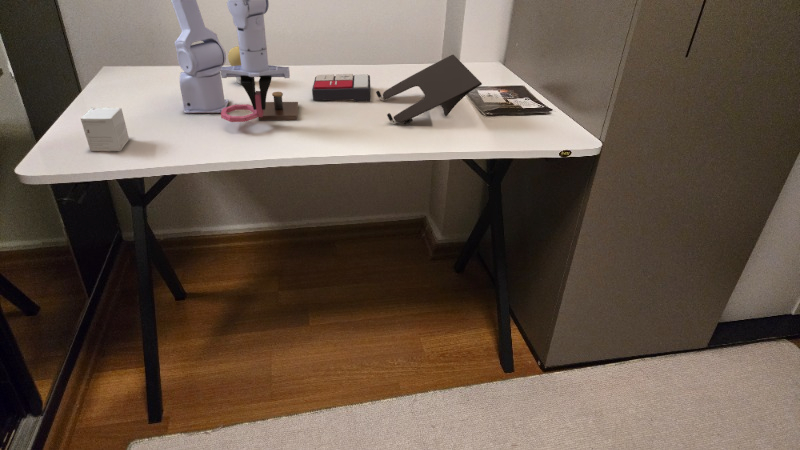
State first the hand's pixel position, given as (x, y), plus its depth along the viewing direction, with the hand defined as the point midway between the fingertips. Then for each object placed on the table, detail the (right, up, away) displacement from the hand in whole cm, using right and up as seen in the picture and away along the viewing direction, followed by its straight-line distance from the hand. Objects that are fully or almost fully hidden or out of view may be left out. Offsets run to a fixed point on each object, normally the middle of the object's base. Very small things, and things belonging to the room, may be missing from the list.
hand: (259, 108), depth 120 cm
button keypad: (+16, +9, +22) cm, 29 cm away
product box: (-29, -10, -9) cm, 32 cm away
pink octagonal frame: (-5, -1, 0) cm, 5 cm away
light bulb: (-11, +13, +26) cm, 31 cm away
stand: (+2, +1, +10) cm, 10 cm away
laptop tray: (+38, +3, +15) cm, 41 cm away
